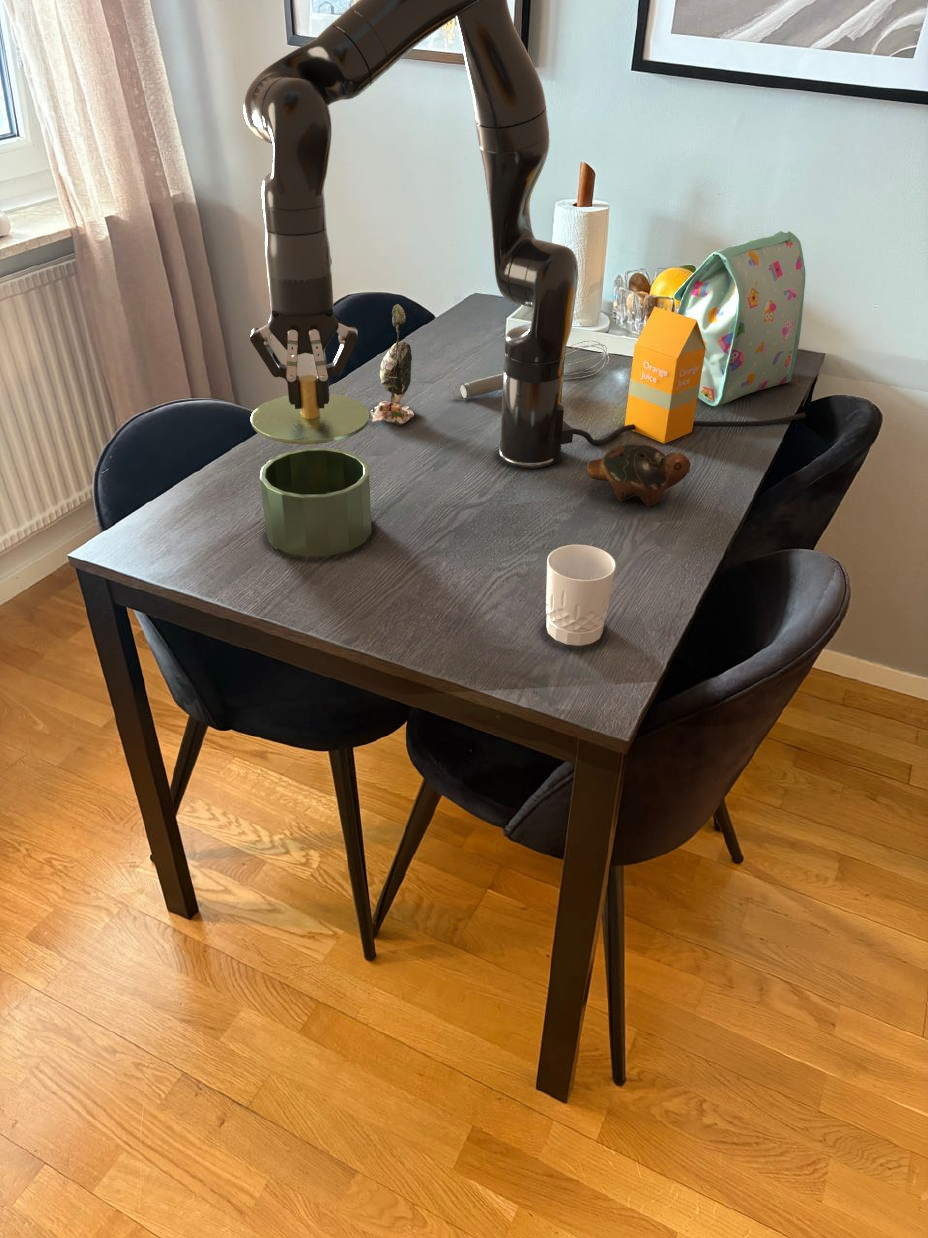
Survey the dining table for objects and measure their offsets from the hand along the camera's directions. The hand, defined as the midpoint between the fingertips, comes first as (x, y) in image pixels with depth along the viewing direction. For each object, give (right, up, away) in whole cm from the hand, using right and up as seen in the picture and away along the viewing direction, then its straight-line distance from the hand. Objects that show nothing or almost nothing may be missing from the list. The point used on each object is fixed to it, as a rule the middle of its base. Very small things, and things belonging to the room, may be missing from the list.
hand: (310, 405), depth 123 cm
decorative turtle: (+46, -9, +22) cm, 51 cm away
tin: (0, -15, +11) cm, 19 cm away
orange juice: (+53, +5, +42) cm, 68 cm away
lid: (0, -2, +1) cm, 2 cm away
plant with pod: (+7, +8, +45) cm, 46 cm away
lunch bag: (+69, +17, +58) cm, 92 cm away
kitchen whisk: (+33, +16, +57) cm, 68 cm away
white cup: (+33, -29, -7) cm, 45 cm away
